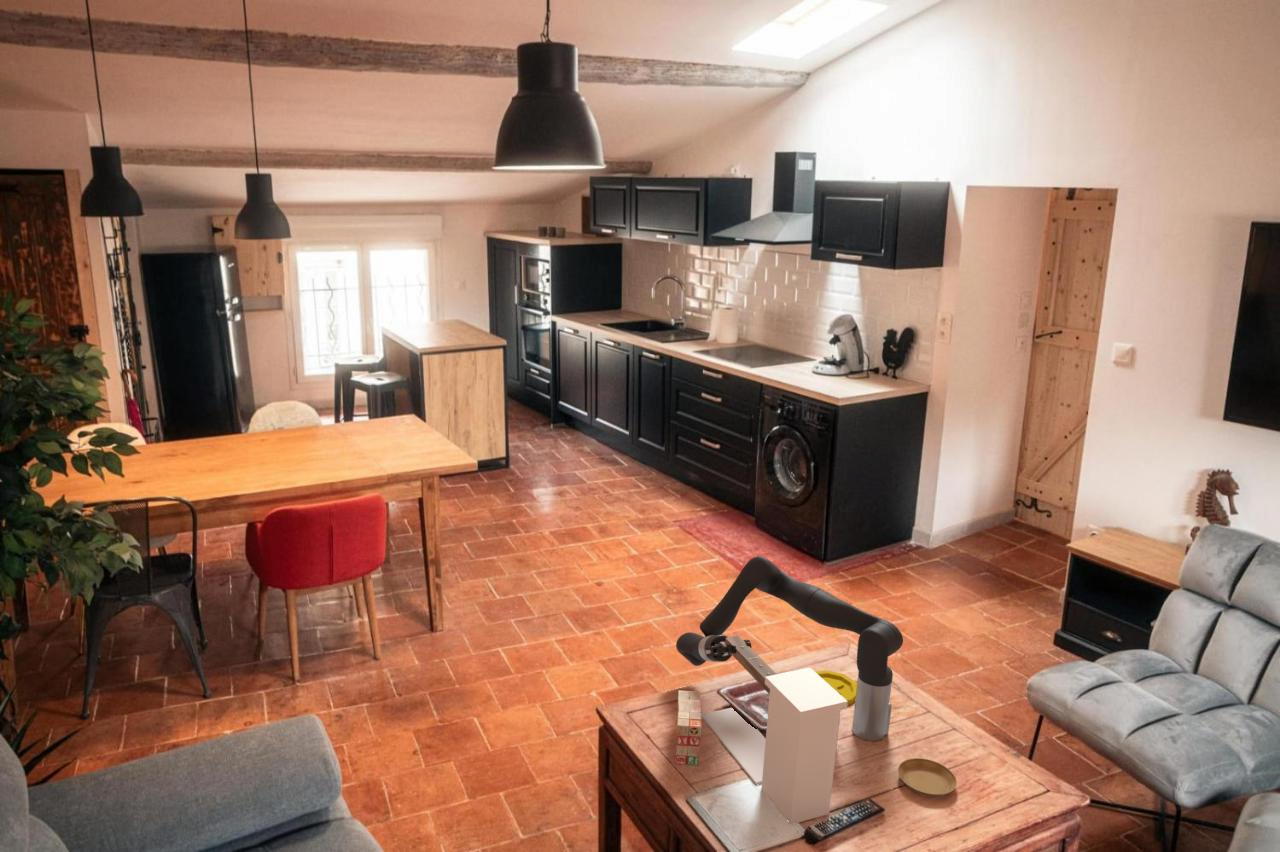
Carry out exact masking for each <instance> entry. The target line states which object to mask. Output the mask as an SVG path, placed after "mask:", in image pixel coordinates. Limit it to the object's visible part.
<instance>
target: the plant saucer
mask: <svg viewBox="0 0 1280 852" xmlns="http://www.w3.org/2000/svg"><path fill="white" fill-rule="evenodd" d="M897 775H898V777H899V779H900V780H901V781H902V782H903V784H905V786H906V787H907V788H908V789H910V790H911V791H913V792H914V793H915V794H918V795H920V796H924V797H926V798H940V797H943V796H946V795H948V794H951V792H954V790H955V789H956V787H957V785H958V781H957V778H956V776H955V774H954V772H953V771H951V770H950V768H948V767H947V766H945V765H943V764H942V763H940V762H937V761H934V760H931V759H928V758H921V757H920V758H919V757H917V758H916V757H914V758H908V759H906V760H904V761H902V762H900V763H899V765H898V767H897Z"/></svg>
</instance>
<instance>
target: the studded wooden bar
mask: <svg viewBox="0 0 1280 852" xmlns="http://www.w3.org/2000/svg"><path fill="white" fill-rule="evenodd" d="M727 637H728V638H726V640H725V644H726V645H735V646H736V653H731V654H732V657H733V658H734V659H735V660H736V661H737V662H738V663H739V664H740V665H741V667H743V668H744V669H745V670H746V671H747V673H749V674H750V676H751V677H752V678H753V679H754V680H755V681H756V682H757V683H758V684H759V685H760V686H761V687H762V688H763V689H764V691H766V693H768V695H770V689H769V688H768V687H767V686H766V685H765V677H766V676H771V675H776V674H777V673H776V672H775V671H774V670H773V669H772V668H771V666H769V665H768V663H766V662H765V661H764V659H762V657H761V656H760V655H759V654H758V653H756V652H755V651H754V650H753V648H750V647H749V646H748V645H747V644H746V643H745V642H744V641H743V640H744V639H743V638H741V636H739V635H734V636H733V635H732V636H727Z"/></svg>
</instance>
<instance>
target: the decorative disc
mask: <svg viewBox="0 0 1280 852" xmlns="http://www.w3.org/2000/svg"><path fill="white" fill-rule="evenodd" d="M814 671H815V670H814ZM815 672H816V673H817V674H818V675H819V676H820V677H821V678H822V679H823V680H825V681H826V682H827V683H828V684H829V685H830V686H831V687H832V688H833V689H835V690H836V691H837V692H838V693H839V694H840V695H841V696H842V697H844V698H845V699H846V700H847V701H848V703H847V706H849V705H852V704H853V703H855V699H856V690H857V681H855V680H853V679H852V678H850V677H849V676H847V675H846V674H844V673H841V672H836V671H831V670H828V669H825V670H818V671H817V670H816V671H815Z"/></svg>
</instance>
